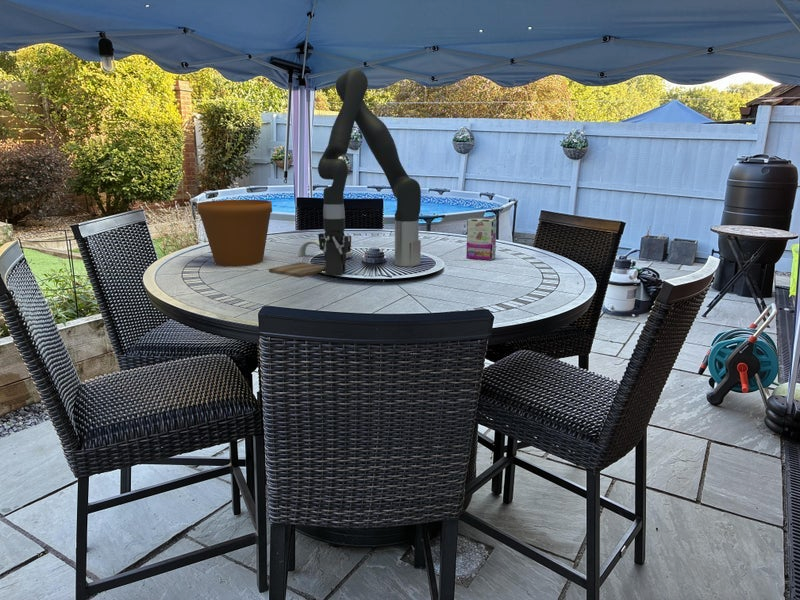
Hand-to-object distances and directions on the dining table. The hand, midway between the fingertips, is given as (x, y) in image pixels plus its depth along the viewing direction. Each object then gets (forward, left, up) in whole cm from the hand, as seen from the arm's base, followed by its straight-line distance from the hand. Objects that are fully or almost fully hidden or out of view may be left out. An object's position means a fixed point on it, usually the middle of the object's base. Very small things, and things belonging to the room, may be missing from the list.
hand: (335, 262), depth 208 cm
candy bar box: (-30, -56, -4) cm, 64 cm away
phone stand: (0, 0, -4) cm, 4 cm away
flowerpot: (+46, +6, -4) cm, 47 cm away
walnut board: (+13, +5, -4) cm, 14 cm away
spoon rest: (+24, -21, -4) cm, 32 cm away
